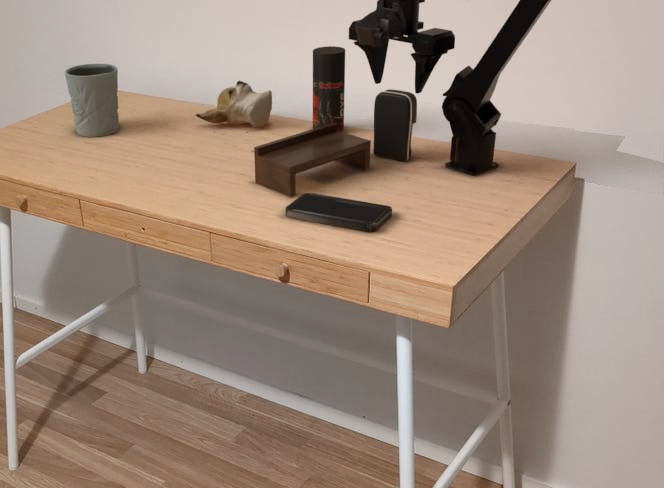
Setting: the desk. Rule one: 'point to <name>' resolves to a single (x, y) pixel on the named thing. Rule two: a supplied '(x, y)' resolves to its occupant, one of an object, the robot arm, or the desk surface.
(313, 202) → the phone
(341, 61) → the deodorant
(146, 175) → the desk surface
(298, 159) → the shelf
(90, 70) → the green planter pot
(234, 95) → the ceramic sculpture
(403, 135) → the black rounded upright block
